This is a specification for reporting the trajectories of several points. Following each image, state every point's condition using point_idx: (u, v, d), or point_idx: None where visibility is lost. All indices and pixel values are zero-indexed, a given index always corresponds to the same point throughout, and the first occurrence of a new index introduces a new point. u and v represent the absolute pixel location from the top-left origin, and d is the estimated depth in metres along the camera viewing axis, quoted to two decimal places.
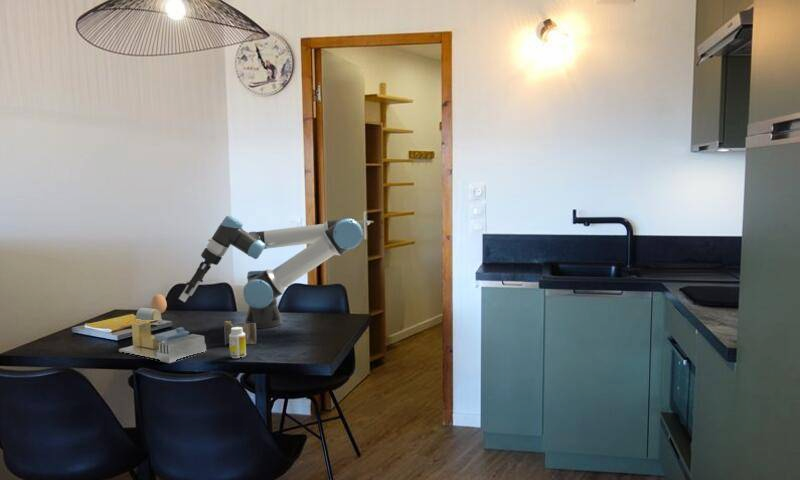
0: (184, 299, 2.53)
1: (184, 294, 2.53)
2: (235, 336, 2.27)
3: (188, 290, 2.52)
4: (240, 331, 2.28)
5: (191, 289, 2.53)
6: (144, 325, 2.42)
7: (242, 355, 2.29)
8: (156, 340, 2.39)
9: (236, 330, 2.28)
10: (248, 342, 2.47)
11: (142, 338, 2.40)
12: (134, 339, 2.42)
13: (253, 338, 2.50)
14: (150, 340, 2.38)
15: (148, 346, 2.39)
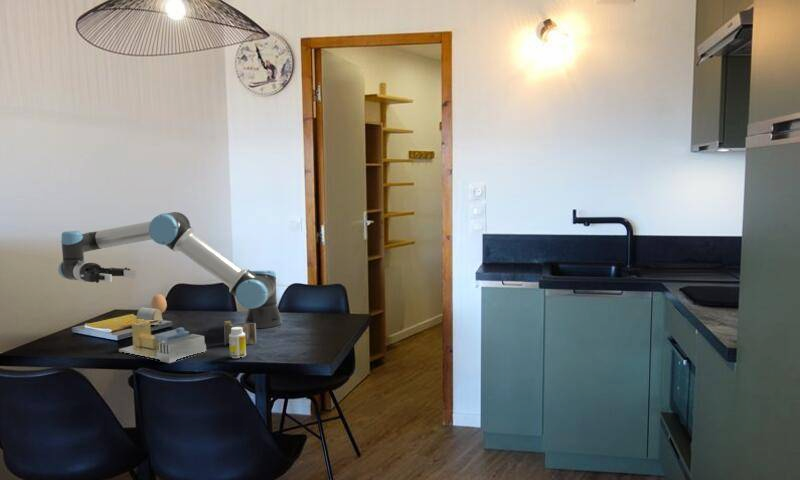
0: (108, 276, 2.42)
1: (106, 278, 2.43)
2: (235, 336, 2.27)
3: (99, 277, 2.44)
4: (240, 331, 2.28)
5: (100, 275, 2.45)
6: (144, 325, 2.42)
7: (242, 355, 2.29)
8: (156, 340, 2.39)
9: (236, 330, 2.28)
10: (248, 342, 2.47)
11: (142, 338, 2.40)
12: (134, 339, 2.42)
13: (253, 338, 2.50)
14: (150, 340, 2.38)
15: (148, 346, 2.39)
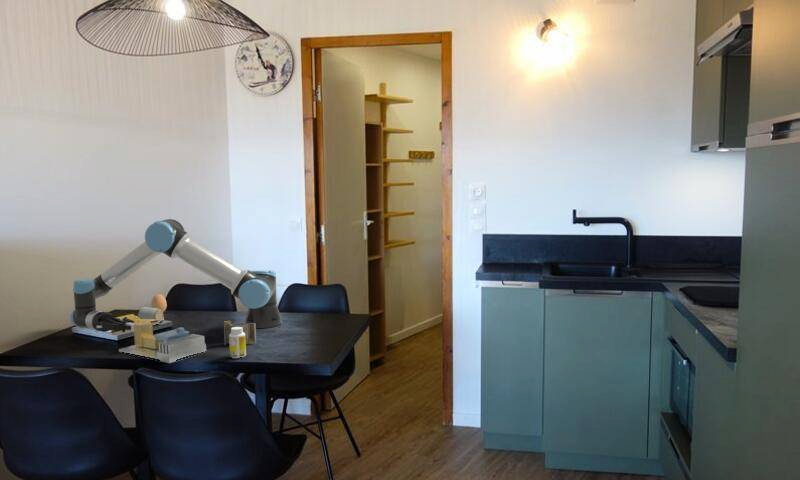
0: None
1: (132, 328, 2.44)
2: (235, 336, 2.27)
3: (125, 327, 2.45)
4: (240, 331, 2.28)
5: (127, 324, 2.46)
6: (146, 325, 2.42)
7: (242, 355, 2.29)
8: (158, 340, 2.38)
9: (236, 330, 2.28)
10: (248, 342, 2.47)
11: (144, 338, 2.40)
12: (136, 339, 2.42)
13: (253, 338, 2.50)
14: (152, 341, 2.37)
15: (150, 346, 2.38)
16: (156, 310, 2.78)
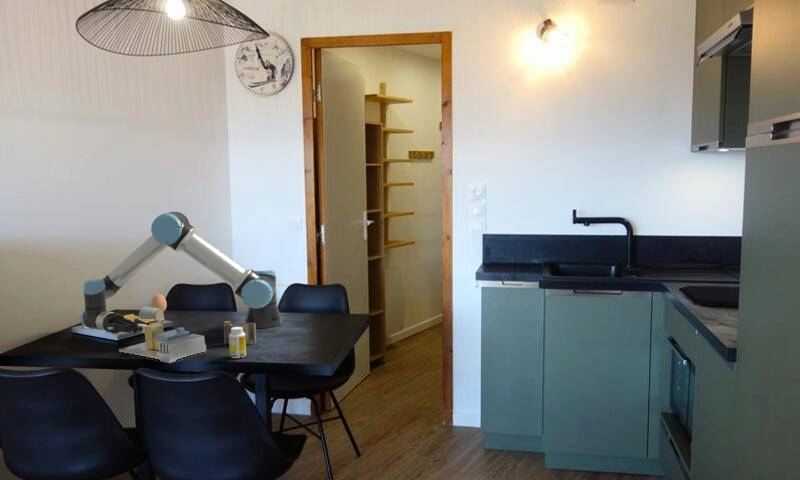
0: None
1: (144, 330, 2.41)
2: (235, 336, 2.27)
3: (137, 328, 2.42)
4: (240, 331, 2.28)
5: (138, 326, 2.43)
6: (157, 327, 2.38)
7: (242, 355, 2.29)
8: None
9: (236, 330, 2.28)
10: (247, 342, 2.47)
11: (155, 341, 2.36)
12: (147, 342, 2.38)
13: (252, 338, 2.50)
14: None
15: None
16: (156, 310, 2.79)
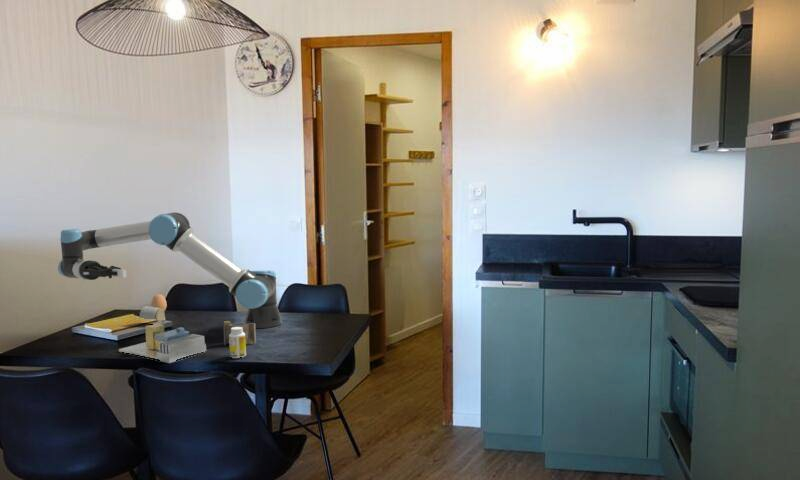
0: (121, 272, 2.45)
1: (118, 274, 2.46)
2: (235, 336, 2.27)
3: (112, 273, 2.47)
4: (240, 331, 2.28)
5: (113, 270, 2.48)
6: (158, 328, 2.38)
7: (242, 355, 2.29)
8: None
9: (236, 330, 2.28)
10: (247, 342, 2.47)
11: (156, 341, 2.36)
12: (148, 342, 2.38)
13: (252, 338, 2.50)
14: None
15: None
16: (157, 309, 2.79)
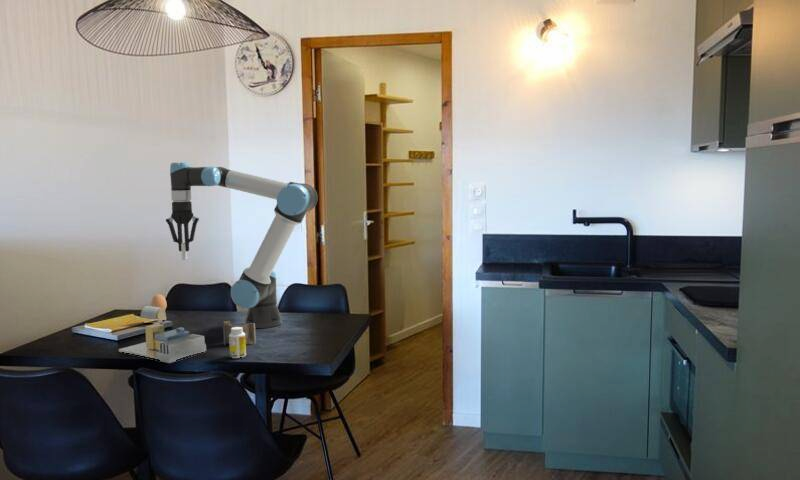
0: None
1: None
2: (235, 336, 2.27)
3: None
4: (240, 331, 2.28)
5: None
6: (158, 328, 2.38)
7: (242, 355, 2.29)
8: None
9: (236, 330, 2.28)
10: (247, 342, 2.47)
11: (156, 341, 2.36)
12: (148, 342, 2.38)
13: (252, 338, 2.50)
14: None
15: None
16: (158, 309, 2.80)
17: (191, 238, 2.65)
